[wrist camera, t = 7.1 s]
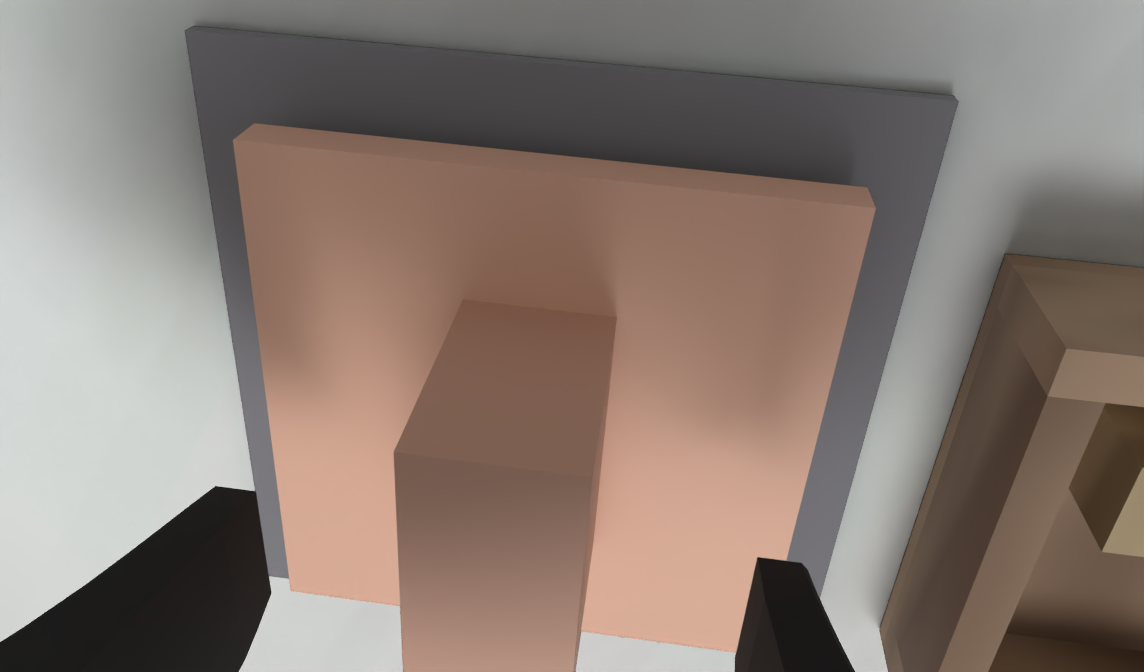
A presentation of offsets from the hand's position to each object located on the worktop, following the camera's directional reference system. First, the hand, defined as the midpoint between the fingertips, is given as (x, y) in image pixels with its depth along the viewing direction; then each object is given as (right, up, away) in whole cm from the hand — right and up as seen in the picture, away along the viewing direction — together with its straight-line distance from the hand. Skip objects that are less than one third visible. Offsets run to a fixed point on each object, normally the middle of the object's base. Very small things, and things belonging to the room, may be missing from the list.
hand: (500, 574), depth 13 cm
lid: (0, +2, +4) cm, 4 cm away
